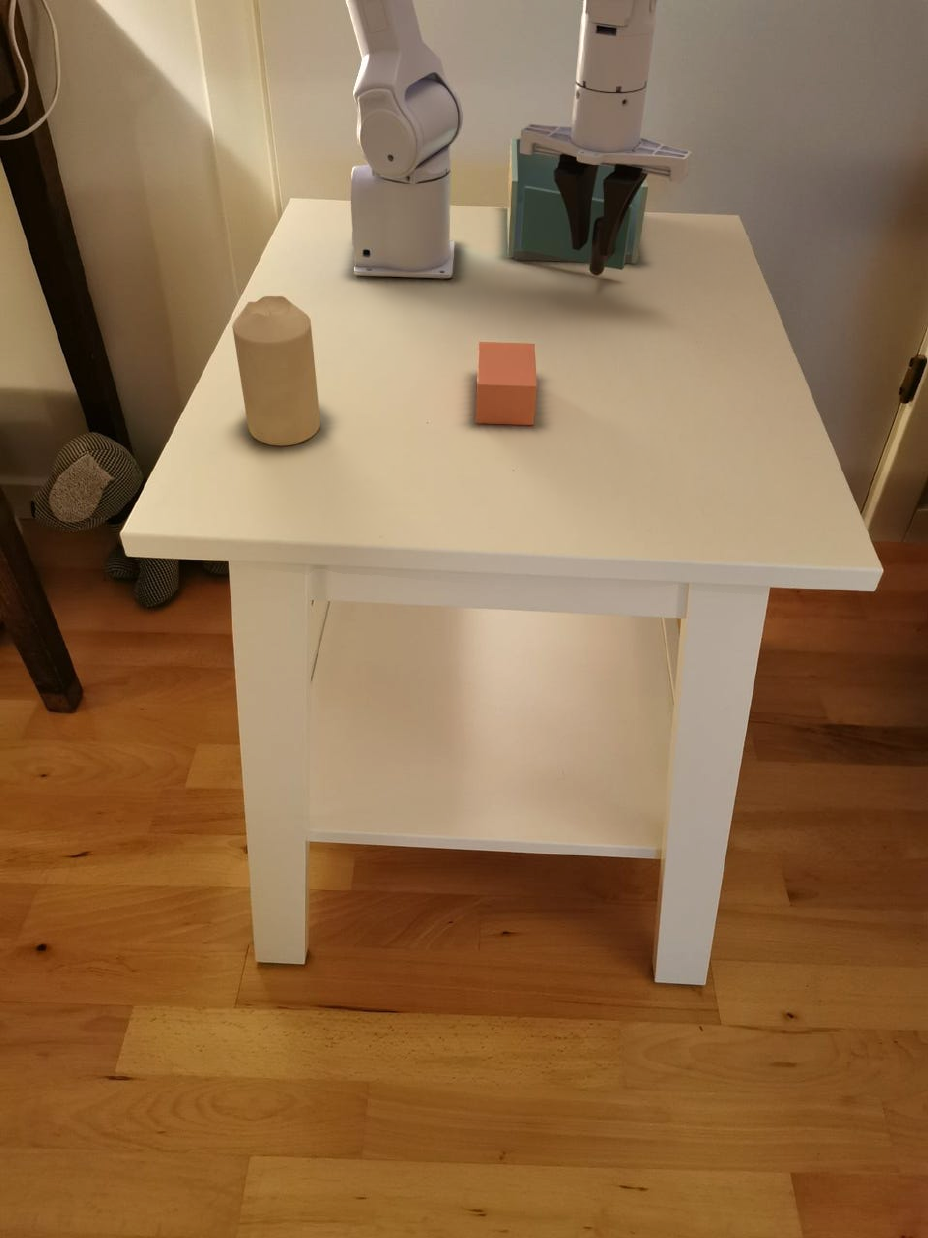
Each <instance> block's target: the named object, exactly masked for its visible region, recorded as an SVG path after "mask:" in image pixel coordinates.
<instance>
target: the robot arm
mask: <svg viewBox="0 0 928 1238" xmlns="http://www.w3.org/2000/svg"><path fill="white" fill-rule="evenodd" d="M345 2H346V6H347V9H348V13H349V17H350V20H351V25H352V27H353V31H354V34H355V37H356V38H355V39H356V41H357V45H358V49H359V52H360V56H361V64H360V69H359V71H358V76H357V78H356V81H355V85H354V88H353V92H352V93H353V98H354V102H355V105H356V110H357V125H356V126H357V127H356V139H357V144H358V148H359V151H360V154H361V156H362V157H363V159H364V161H365V163H366V164H364V165H354V166H353V167H352V170H351V177H350V215H351V218H350V219H351V243H352V247H353V248H352V249H353V263H354V267H353V274H354V275H355V276H362V277H363V276H367V277H397V278H398V277H399V278H425V279H426V278H427V279H428V278H430V279H431V278H432V279H450V278H453V274H454V273H453V271H454V260H455V259H454V258H455V247H456V242H455V241H454V240H453V239H451V145H453V144H454V142H455V141H456V140H457V139H458V137H459V135H460V133H461V130H462V127H463V121H464V120H463V119H464V113H463V107H462V103H461V100H460V98H459V96H458V94H457V92H456V91H455V89H454V88H453V86H452V85H451V84H450V82H449V81H448V79H447V76H446V74H445V71H444V67H443V63H442V60H441V59H442V58H440V57H439V56H438V55H437V53H436V52H435V51H434V50H433V49H431V47H430V46H429V45H427V44H426V42H425V41H424V40H423V37H422V33H421V29H420V25H419V21H418V17H417V12H416V10H415V9H416V8H415V5H414V0H345ZM657 2H658V0H583V1H582V12H581V16H580V26H579V38H578V50H577V51H578V52H577V59H576V61H577V62H576V73H575V83H574V95H573V106H572V117H571V118H572V119H571V126H562V125H544V124H536V123H529V124H527V125H526V126H524V127H522V129H520V136H519V137H520V153H521V154H527V155H531V154H533V153H537V154H543V155H548V156H554V157H559V163H558V167H557V168H556V169H555V170H554V181H555V183H556V185H557V187H558V189H559V191H560V194H561V196H562V199H563V202H564V204H565V208H566V211H567V215H568V220H569V225H570V230H571V237H572V248H573V249H575V250H580V249H581V248H582V247H583V246H584V245H585V244H586V243H587V241H588V236H589V230H590V216H591V203H592V197H593V191H594V185H595V180H596V175H597V171H598V166H599V165H603V166H608V167H613V168H614V172H611V173H610V174H609V175H608V176H607V177H606V178H605V179H604V182H603V189H604V218H603V226H602V233H601V239H600V248H599V255H603V256H608V255H609V253H610V252H611V251H612V250H613V249H614V246H615V242H616V239H617V236H618V233H619V230H620V227H621V224H622V222H623V219H624V217H625V215H626V213H627V210H628V208H629V206H630V204H631V202H632V201H633V199H634V197H635V195H636V193H637V192H638V190H639V188H640V187H641V185H642V183H643V182H644V180H645V179H646V180H647V177H648V176H649V175H653V176H657V177H662V178H667V179H668V178H669V179H668V180H669V182H673V183H678V184H681V183H683V181H685V180H686V178H687V177H688V176H689V171H690V166H691V159H692V154H693V152H692V151H691V150H685V149H680V148H677V147H673V146H670V145H667V144H664V143H661V142H657V141H655V140H652V139H649V138H645V137H642V136H641V131H642V123H643V116H644V109H645V108H644V107H645V100H646V92H647V86H648V78H649V71H650V66H651V65H650V64H651V56H652V48H653V41H654V34H655V27H656V8H657Z"/></svg>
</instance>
